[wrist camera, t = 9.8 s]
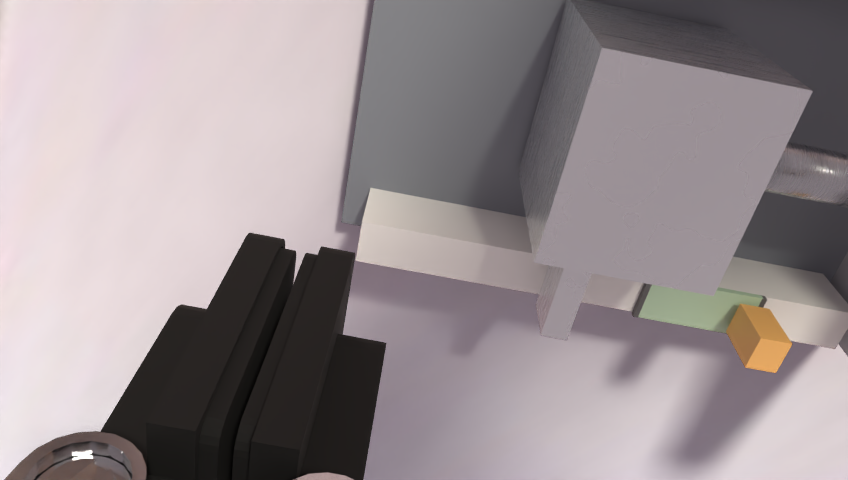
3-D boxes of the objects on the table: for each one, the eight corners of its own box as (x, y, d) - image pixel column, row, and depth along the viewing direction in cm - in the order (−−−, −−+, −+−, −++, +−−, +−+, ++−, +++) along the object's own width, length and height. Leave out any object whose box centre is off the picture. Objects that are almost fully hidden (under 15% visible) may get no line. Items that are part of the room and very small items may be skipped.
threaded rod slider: (568, -4, 25) (602, 47, 19) (937, 73, 26) (1083, 145, 20) (494, 254, 31) (503, 358, 25) (801, 311, 31) (883, 425, 25)
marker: (740, 303, 27) (760, 338, 26) (769, 309, 28) (792, 344, 26) (725, 331, 28) (744, 367, 26) (754, 336, 28) (775, 373, 26)
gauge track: (396, -140, 24) (356, -123, 15) (1043, 0, 26) (1387, 98, 16) (344, 211, 31) (294, 375, 22) (855, 307, 33) (1018, 501, 23)
